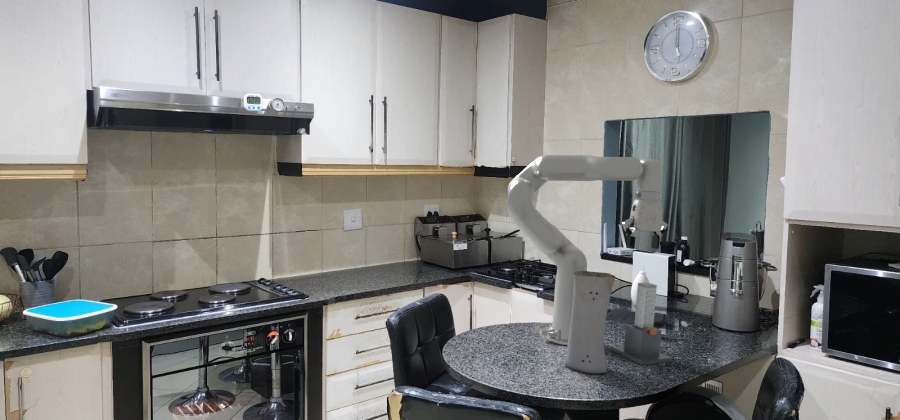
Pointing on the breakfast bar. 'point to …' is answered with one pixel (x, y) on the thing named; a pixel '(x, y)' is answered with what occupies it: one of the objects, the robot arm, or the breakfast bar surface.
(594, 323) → the vase
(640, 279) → the white ovoid piece
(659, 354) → the stand
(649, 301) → the column
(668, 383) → the breakfast bar surface
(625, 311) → the dark slate chunk
